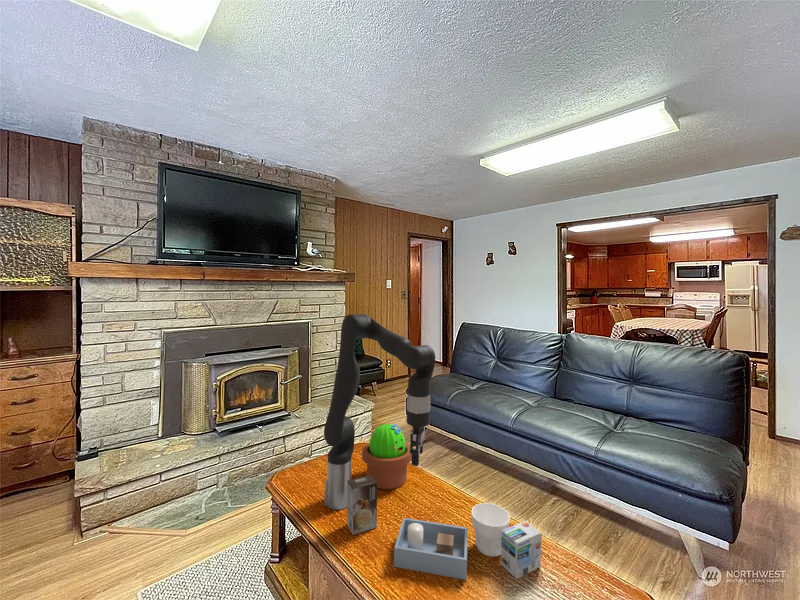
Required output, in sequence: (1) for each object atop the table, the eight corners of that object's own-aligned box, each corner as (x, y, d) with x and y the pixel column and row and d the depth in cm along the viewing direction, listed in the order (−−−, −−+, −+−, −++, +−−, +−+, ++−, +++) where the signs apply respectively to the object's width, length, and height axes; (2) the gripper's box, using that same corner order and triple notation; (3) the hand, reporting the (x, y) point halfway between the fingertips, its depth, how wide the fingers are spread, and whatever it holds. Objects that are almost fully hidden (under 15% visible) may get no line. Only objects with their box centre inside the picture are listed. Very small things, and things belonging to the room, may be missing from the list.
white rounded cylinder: (406, 554, 110) (406, 532, 110) (408, 542, 115) (409, 521, 115) (422, 556, 109) (422, 534, 109) (423, 545, 114) (424, 524, 114)
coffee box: (370, 517, 129) (371, 474, 129) (377, 528, 123) (378, 482, 123) (346, 524, 125) (347, 479, 124) (352, 535, 119) (353, 488, 119)
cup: (503, 567, 106) (504, 531, 106) (464, 551, 113) (465, 517, 113) (513, 543, 117) (514, 510, 117) (477, 529, 124) (478, 498, 123)
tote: (393, 566, 106) (394, 547, 106) (403, 534, 120) (403, 517, 120) (466, 579, 102) (466, 560, 101) (467, 545, 116) (467, 527, 116)
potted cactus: (351, 479, 155) (352, 423, 155) (385, 462, 172) (386, 411, 171) (387, 499, 141) (389, 437, 140) (421, 478, 157) (422, 423, 157)
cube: (436, 559, 108) (436, 543, 108) (437, 547, 113) (438, 532, 113) (452, 562, 107) (452, 546, 107) (453, 550, 112) (453, 535, 112)
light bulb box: (516, 580, 102) (517, 543, 102) (499, 564, 108) (500, 530, 108) (541, 567, 107) (542, 532, 107) (524, 553, 113) (525, 520, 113)
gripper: (410, 400, 119) (409, 448, 119) (402, 414, 105) (401, 468, 105) (432, 402, 118) (431, 450, 118) (427, 417, 104) (426, 471, 104)
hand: (417, 458), depth 112 cm, fingers open, 8 cm apart
